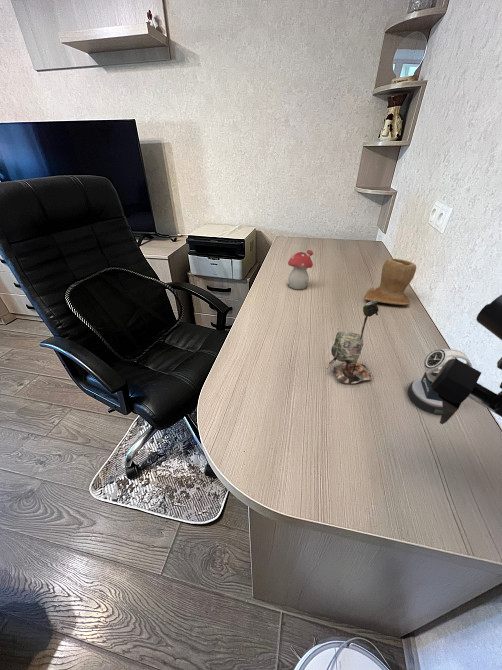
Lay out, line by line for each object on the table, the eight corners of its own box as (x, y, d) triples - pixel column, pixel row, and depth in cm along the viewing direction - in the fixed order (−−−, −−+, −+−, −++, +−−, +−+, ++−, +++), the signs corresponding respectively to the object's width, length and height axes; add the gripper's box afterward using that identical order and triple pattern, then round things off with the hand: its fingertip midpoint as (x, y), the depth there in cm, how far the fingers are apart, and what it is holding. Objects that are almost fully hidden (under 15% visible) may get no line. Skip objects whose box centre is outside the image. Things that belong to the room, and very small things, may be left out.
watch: (411, 379, 65) (428, 341, 58) (450, 386, 63) (472, 347, 57) (416, 396, 60) (435, 358, 54) (458, 404, 59) (483, 365, 52)
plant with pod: (323, 360, 74) (337, 293, 63) (368, 366, 72) (390, 297, 61) (324, 382, 68) (339, 311, 56) (373, 388, 66) (399, 316, 54)
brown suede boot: (404, 295, 106) (418, 256, 97) (409, 310, 96) (425, 269, 88) (363, 290, 109) (372, 252, 101) (363, 304, 100) (374, 264, 91)
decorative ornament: (311, 285, 113) (316, 248, 104) (307, 292, 108) (312, 254, 99) (289, 281, 116) (292, 245, 107) (284, 288, 111) (287, 250, 102)
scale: (460, 414, 60) (466, 406, 58) (419, 414, 60) (423, 406, 58) (437, 384, 67) (442, 376, 66) (400, 384, 67) (404, 376, 66)
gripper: (676, 394, 30) (555, 451, 41) (488, 309, 39) (430, 375, 50) (689, 467, 24) (544, 511, 36) (464, 349, 33) (404, 413, 44)
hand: (473, 442), depth 41 cm, fingers open, 9 cm apart
